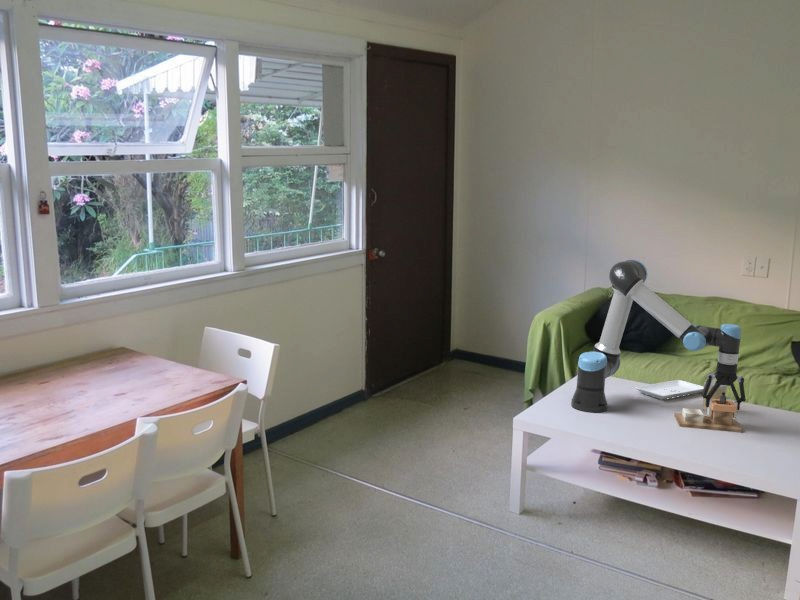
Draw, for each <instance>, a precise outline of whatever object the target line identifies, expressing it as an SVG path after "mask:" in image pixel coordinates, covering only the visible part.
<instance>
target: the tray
mask: <svg viewBox="0 0 800 600" xmlns="http://www.w3.org/2000/svg"><path fill="white" fill-rule="evenodd" d="M664 389H665V390H664ZM666 389H667V390H666ZM703 389H704V385H699V384H697V383H696V384H695V383H694V382H693V383H692V382H689V381H685V380H681V379H674V380H669V381H668V380H667V381H663V382H657V383H651V384H645V385H638V386H636V387H635V390H637V391H638V392H640V393H643V394H644V395H645V394H647V395H646V396H648V395H650V396H649V397H651V396H653V397H652V398H654V397H656V398H655V399H657V398H659V399H658V400H660V399H666V400H668V399H667V398H671V399H673V398H672V397H677V396H682V397H684V396H683V395H687V396H689V395H688V394H693V395H698V394H699V393H701V392H703ZM671 390H672V391H674V390H677V391H676V392H670V391H671ZM678 391H680V392H678ZM677 398H678V397H677Z"/></svg>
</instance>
